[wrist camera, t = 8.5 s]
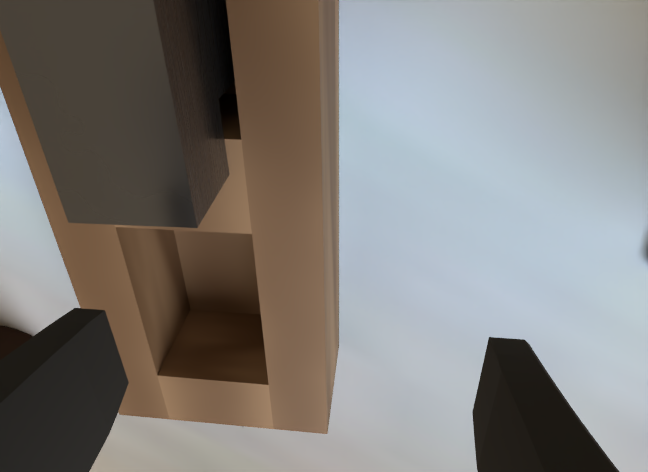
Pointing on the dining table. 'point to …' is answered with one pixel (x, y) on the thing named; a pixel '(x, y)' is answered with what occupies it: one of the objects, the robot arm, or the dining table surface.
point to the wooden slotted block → (230, 242)
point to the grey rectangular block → (126, 103)
